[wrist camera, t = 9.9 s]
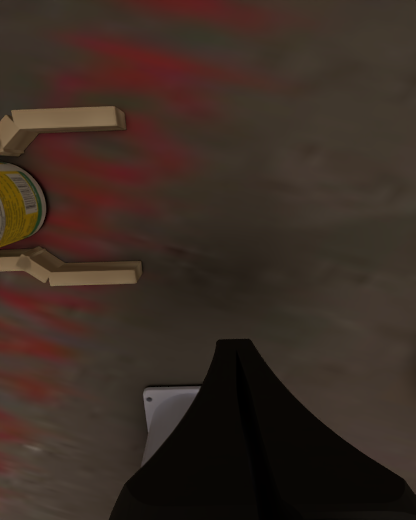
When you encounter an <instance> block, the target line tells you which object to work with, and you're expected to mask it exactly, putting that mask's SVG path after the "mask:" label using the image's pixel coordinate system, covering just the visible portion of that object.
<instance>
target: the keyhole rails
mask: <svg viewBox="0 0 416 520" xmlns="http://www.w3.org/2000/svg"><path fill="white" fill-rule="evenodd" d="M11 112H12V116H9V115H5V116H4V117H3V119H2V120H1V121H0V155H4V156H20V154H22V153H24V150H25V149H26V148H27V147H28V145H29V144H30V143H31V142H32V141H33V140H34V139H35V137H36V136H37V135H38V134H39V133H57V132H83V131H110V130H126V122H125V113H124V112H122V111H121V110H119V109H118V108H116V107H115V106H106V107H80V108H55V109H29V110H11ZM0 271H26V272H27V273H29V274H31V275H32V276H34V277H35V278H37V279H39V280H40V281H42V282H44V283H46V282H47V281H49V282H50V286H66V285H99V284H133V283H137V281H138V280H139V278H140V277H141V275H142V273H143V272H142V264H141V261H118V262H86V263H64V262H63V261H61V260H60V259H58V258H57V257H55V256H54V255H52V254H50V253H49V252H47V251H46V248H41V247H40V246H38V247H36V248H34V249H10V250H0Z"/></svg>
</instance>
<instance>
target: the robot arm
mask: <svg viewBox="0 0 416 520" xmlns="http://www.w3.org/2000/svg"><path fill="white" fill-rule="evenodd" d="M148 397H151V399H150V398H148ZM143 398H144V405H145V413H146V421H147V428H148V437H147V442H146V446H145V450H144V455H143V459H142V464H141V468H140V469H139V470H138V471H137V472H136V473H135V474H134V475H133V476H132V477H131V478H130V479H129V480H128V481H127V482H126V483H125V484H124V486H123V488H122V491H121V493H120V495H119V497H118V499H117V501H116V503H115V506H114V508H113V510H112V513H111V515H110V518H109V520H416V495H415V494H414V492H413V491H412V490H411V488H410V487H409V486H408V484H407V483H406V481H405V480H404V479H403V478H401V477H400V476H398V475H397V474H395V473H393V472H392V471H390V470H389V469H387V468H385V467H384V466H382V465H381V464H379V463H377V462H376V461H374V460H373V459H371V458H369V457H368V456H366V455H365V454H363V453H362V452H361V451H359V450H358V449H356V448H355V447H353V446H352V445H351V444H349V443H348V442H346V441H345V440H344V439H342V438H341V437H340V436H338V435H337V434H336V433H335V432H333V431H332V430H331V429H330V428H328V427H327V426H326V425H325V424H323V423H322V422H321V421H320V420H319V419H317V418H316V417H315V416H314V415H313V414H312V413H311V412H310V411H308V410H307V409H306V408H305V407H304V406H303V405H302V404H301V403H300V402H299V401H298V400H297V399H296V398H295V397H294V396H293V395H292V394H291V393H290V392H289V390H288V389H287V388H286V387H285V386H284V385H283V384H282V383H281V381H280V380H279V379H278V378H277V377H276V375H275V374H274V373H273V372H272V370H271V369H270V368H269V366H268V365H267V364H266V362H265V361H264V360H263V358H262V357H261V355H260V354H259V352H258V351H257V349H256V348H255V346H254V344H253V343H252V341H251V340H250V339H222V340H218V341H217V342H216V349H215V353H214V357H213V360H212V363H211V365H210V368H209V370H208V373H207V375H206V377H205V379H204V381H203V383H202V385H201V386H184V387H148V388H146V389H145V390H144V392H143Z"/></svg>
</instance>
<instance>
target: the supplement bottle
mask: <svg viewBox="0 0 416 520" xmlns="http://www.w3.org/2000/svg"><path fill="white" fill-rule="evenodd" d="M45 215H46V202H45V198H44V195H43V192H42V190H41V188H40V186H39V185H38V183H37V182H36V181H35V179H34V178H33V177H32V176H31V175H30V174H29V173H27V172H26V171H25V170H23V169H22V168H20V167H18V166H16V165H13V164H10V163H6V162H0V247H2V246H5V245H8V244H11V243H13V242H16V241H19V240H22V239H24V238H27V237H29V236H31V235H33V234H35V233H36V232H37V231H38V230H39V229H40V227H41V226H42V224H43V222H44V219H45Z"/></svg>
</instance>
